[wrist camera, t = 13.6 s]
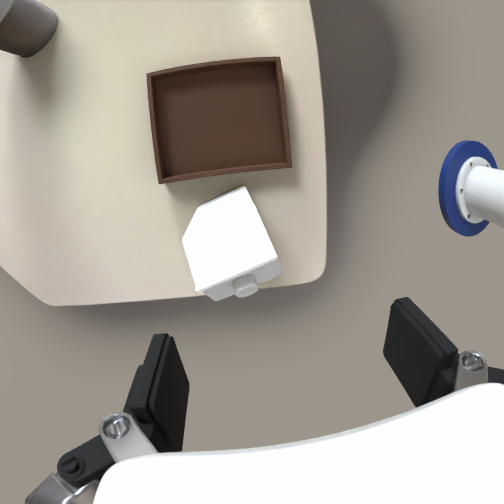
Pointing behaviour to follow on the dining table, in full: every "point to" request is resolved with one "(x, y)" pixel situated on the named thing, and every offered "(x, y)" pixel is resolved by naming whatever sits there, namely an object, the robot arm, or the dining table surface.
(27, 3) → the pillar candle
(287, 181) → the dining table surface
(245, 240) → the milk carton
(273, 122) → the tray
